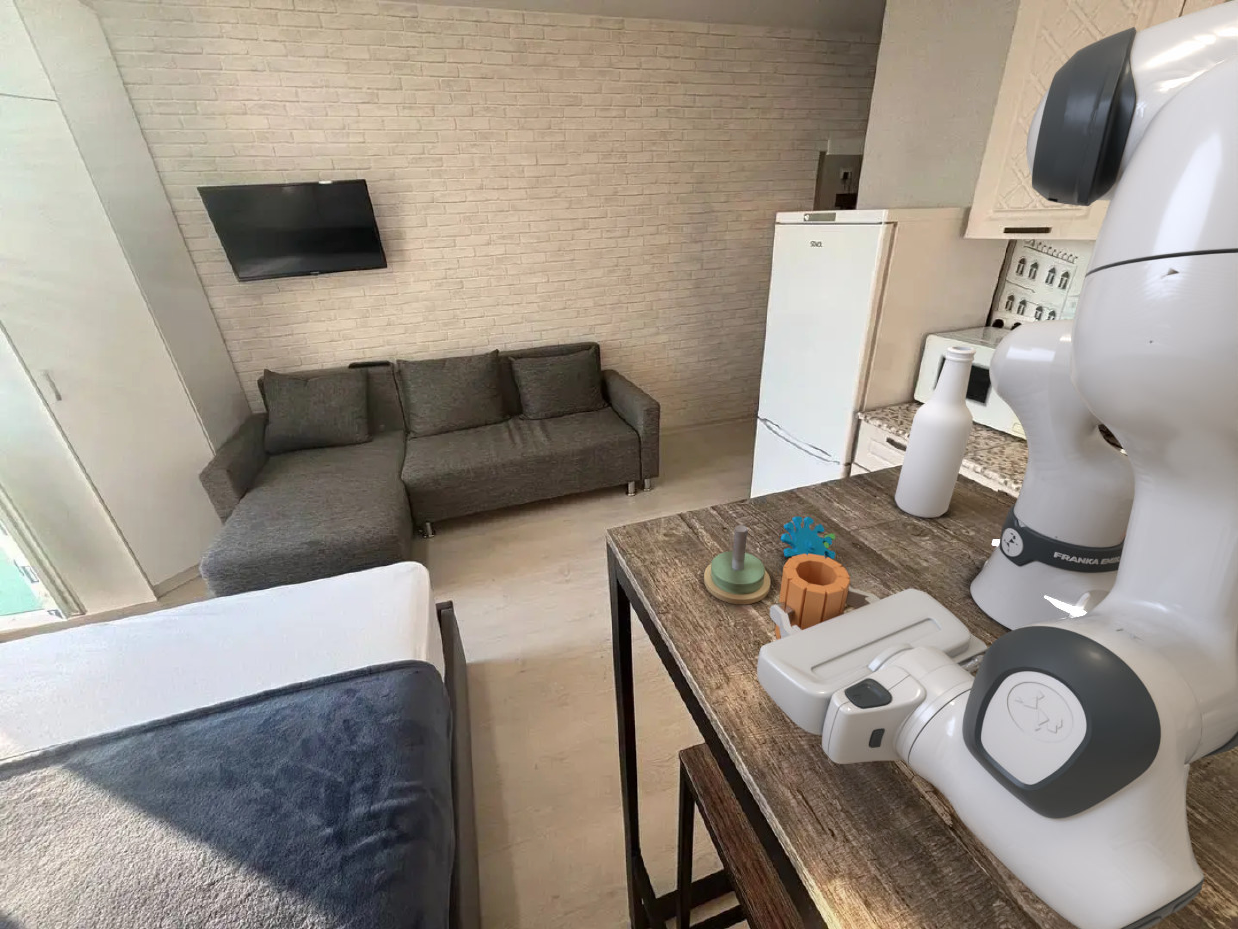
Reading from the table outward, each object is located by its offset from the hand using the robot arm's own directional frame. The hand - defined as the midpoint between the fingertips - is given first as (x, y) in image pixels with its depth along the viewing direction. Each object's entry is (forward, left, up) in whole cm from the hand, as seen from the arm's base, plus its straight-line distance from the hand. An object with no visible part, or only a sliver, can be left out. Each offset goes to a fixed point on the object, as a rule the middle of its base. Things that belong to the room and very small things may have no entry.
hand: (805, 597), depth 54 cm
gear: (-9, -24, -15) cm, 30 cm away
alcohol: (-35, -41, -15) cm, 56 cm away
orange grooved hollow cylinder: (0, +1, -5) cm, 5 cm away
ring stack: (+3, -20, -15) cm, 25 cm away
